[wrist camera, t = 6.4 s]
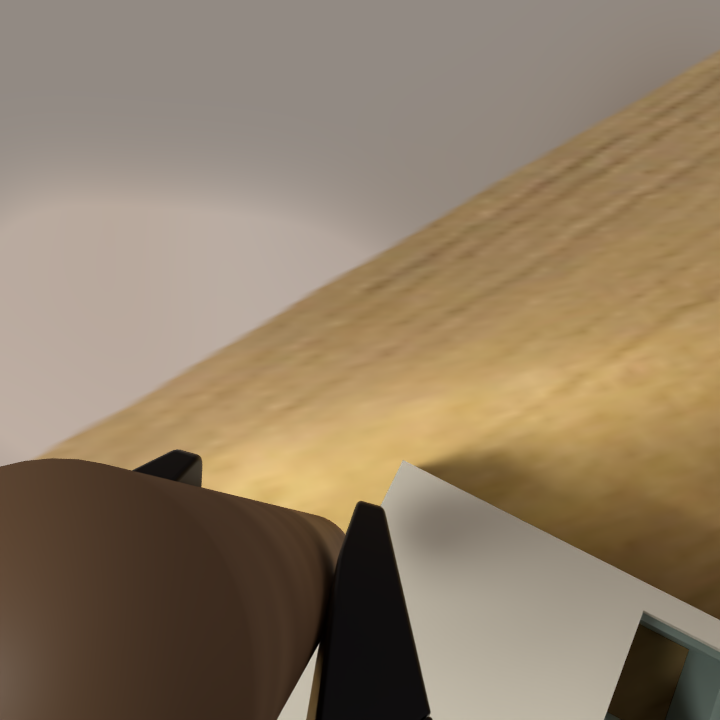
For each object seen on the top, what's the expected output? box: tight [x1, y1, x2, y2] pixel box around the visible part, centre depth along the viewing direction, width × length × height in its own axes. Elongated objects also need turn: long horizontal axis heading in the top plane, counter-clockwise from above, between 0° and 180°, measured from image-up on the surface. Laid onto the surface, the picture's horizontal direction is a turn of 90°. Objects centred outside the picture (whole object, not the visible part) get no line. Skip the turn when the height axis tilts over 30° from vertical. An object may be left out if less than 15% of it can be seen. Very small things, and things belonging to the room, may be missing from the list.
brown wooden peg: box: [0, 459, 345, 720], centre depth 9 cm, size 2×2×12 cm
